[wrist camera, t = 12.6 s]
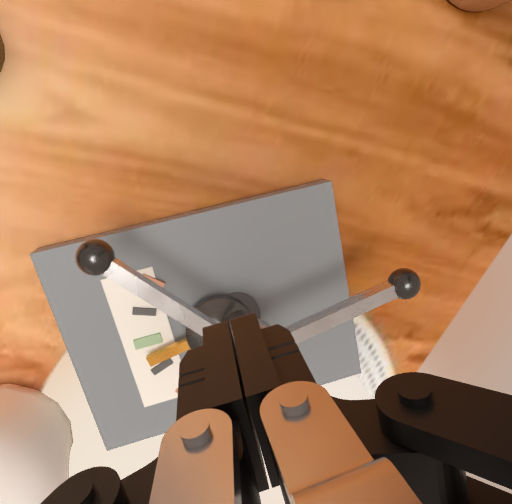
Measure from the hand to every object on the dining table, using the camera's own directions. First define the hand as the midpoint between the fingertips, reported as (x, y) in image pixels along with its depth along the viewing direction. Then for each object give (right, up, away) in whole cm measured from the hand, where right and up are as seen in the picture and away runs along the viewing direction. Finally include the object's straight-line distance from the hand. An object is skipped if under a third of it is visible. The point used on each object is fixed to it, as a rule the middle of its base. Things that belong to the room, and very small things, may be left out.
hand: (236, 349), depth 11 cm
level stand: (-4, -3, +28) cm, 28 cm away
